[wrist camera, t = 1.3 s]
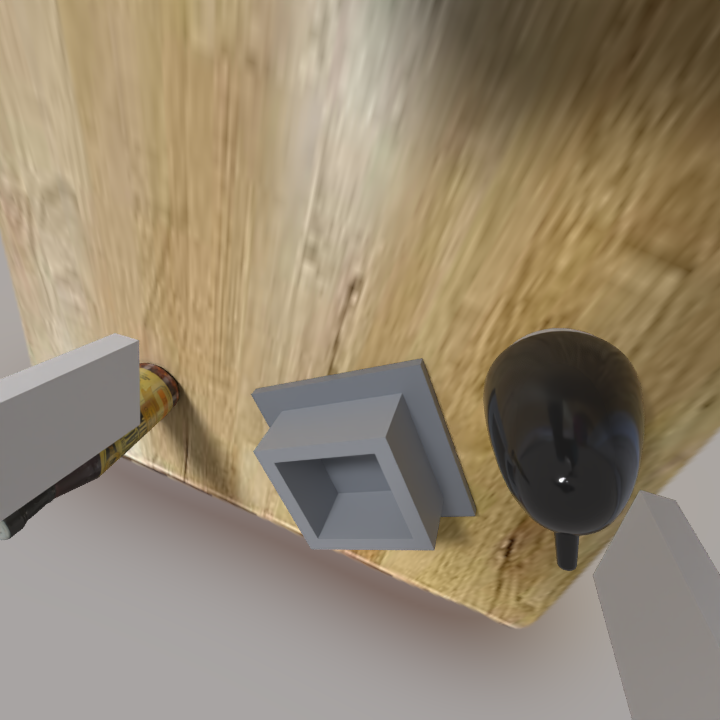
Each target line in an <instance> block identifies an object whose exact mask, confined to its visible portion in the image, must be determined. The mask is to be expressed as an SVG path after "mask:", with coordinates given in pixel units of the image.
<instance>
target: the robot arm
mask: <svg viewBox="0 0 720 720" xmlns="http://www.w3.org/2000/svg"><path fill="white" fill-rule="evenodd" d="M139 425H140V376H139V340H136V339H133V338H130V337H126V336H123V335H120V334H116V333H114V334H112V335H109V336H107V337H104V338H102V339H99V340H97V341H94V342H92V343H89V344H87V345H84V346H82V347H79V348H77V349H74V350H72V351H69V352H67V353H64V354H62V355H59V356H57V357H54V358H52V359H50V360H47V361H45V362H42V363H40V364H37V365H35V366H32V367H30V368H27V369H25V370H23V371H20V372H17V373H15V374H12V375H10V376H7V377H5V378H3V379H0V522H1V521H2V520H4V519H5V518H6V517H8V516H9V515H11V514H12V513H14V512H15V511H16V510H18V509H19V508H21V507H22V506H24V505H25V504H27V503H28V502H29V501H31V500H32V499H34V498H35V497H37V496H38V495H39V494H41V493H42V492H44V491H45V490H47V489H48V488H50V487H51V486H52V485H54V484H55V483H57V482H58V481H60V480H61V479H62V478H64V477H65V476H67V475H68V474H70V473H71V472H73V471H74V470H75V469H77V468H78V467H80V466H81V465H83V464H84V463H85V462H87V461H88V460H90V459H91V458H93V457H94V456H96V455H97V454H98V453H100V452H101V451H103V450H104V449H106V448H107V447H108V446H110V445H111V444H113V443H114V442H116V441H117V440H119V439H120V438H121V437H123V436H124V435H126V434H127V433H129V432H130V431H131V430H133V429H134V428H136V427H137V426H139ZM593 578H594V581H595V585H596V589H597V592H598V596H599V600H600V603H601V607H602V611H603V614H604V618H605V622H606V625H607V629H608V633H609V637H610V640H611V644H612V648H613V651H614V655H615V659H616V662H617V666H618V670H619V674H620V677H621V680H622V684H623V688H624V692H625V696H626V699H627V703H628V707H629V710H630V714H631V718H632V720H720V574H719V572H718V571H717V569H716V567H715V566H714V564H713V562H712V561H711V559H710V557H709V556H708V554H707V552H706V551H705V549H704V547H703V546H702V544H701V542H700V540H699V539H698V537H697V536H696V534H695V532H694V530H693V529H692V527H691V525H690V524H689V522H688V520H687V519H686V517H685V515H684V514H683V512H682V511H681V509H680V507H679V505H678V504H677V502H676V501H675V500H672V499H669V498H666V497H662V496H659V495H656V494H652V493H649V492H646V491H642V490H640V491H639V492H638V494H637V496H636V498H635V500H634V501H633V503H632V505H631V507H630V509H629V511H628V512H627V514H626V516H625V518H624V520H623V521H622V523H621V525H620V527H619V529H618V530H617V532H616V534H615V536H614V538H613V539H612V541H611V543H610V545H609V547H608V548H607V550H606V552H605V554H604V556H603V558H602V559H601V561H600V563H599V565H598V567H597V568H596V570H595V572H594V574H593Z"/></svg>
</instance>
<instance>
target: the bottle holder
mask: <svg viewBox="0 0 720 720" xmlns="http://www.w3.org/2000/svg"><path fill="white" fill-rule="evenodd" d="M251 395H252V397H253V399H254V400H255V402H256V404H257V406H258V408H259V409H260V411H261V413H262V415H263V416H264V418H265V420H266V422H267V424H268V425H269V427H270V429H269V430H268V432H267V433H266V434H265V436H264V437H263V439H262V440H261V441H260V443H259V444H258V446H257V447H256V448H255V450H254V451H253V452H254V454H255V455H256V457H257V459H258V460H259V462H260V464H261V465H262V467H263V469H264V471H265V472H266V474H267V476H268V477H269V479H270V481H271V482H272V484H273V486H274V487H275V489H276V491H277V492H278V494H279V496H280V497H281V499H282V501H283V502H284V504H285V506H286V507H287V509H288V511H289V513H290V514H291V516H292V518H293V519H294V521H295V523H296V524H297V526H298V528H299V529H300V531H301V533H302V534H303V536H304V538H305V539H306V541H307V543H308V544H309V546H310V548H311V549H346V550H434V549H435V544H436V538H437V533H438V528H439V522H440V517H457V516H475V513H476V507H475V504H474V501H473V498H472V496H471V493H470V490H469V487H468V484H467V482H466V479H465V476H464V473H463V470H462V468H461V465H460V462H459V459H458V456H457V454H456V451H455V448H454V445H453V442H452V440H451V437H450V434H449V431H448V428H447V426H446V423H445V420H444V417H443V415H442V412H441V409H440V406H439V403H438V401H437V398H436V395H435V392H434V389H433V387H432V384H431V381H430V378H429V375H428V373H427V370H426V367H425V364H424V361H423V359H416V360H411V361H405V362H400V363H394V364H389V365H384V366H378V367H373V368H367V369H362V370H356V371H351V372H345V373H340V374H334V375H329V376H323V377H318V378H313V379H307V380H302V381H296V382H291V383H285V384H280V385H274V386H269V387H263V388H258V389H255V391H254V392H253V393H252V394H251Z"/></svg>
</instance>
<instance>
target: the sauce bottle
mask: <svg viewBox="0 0 720 720" xmlns="http://www.w3.org/2000/svg"><path fill="white" fill-rule="evenodd" d="M139 376H140V425H139V426H137V427H136V428H134V429H133V430H131V431H130V432H129V433H127V434H126V435H124V436H123V437H121V438H120V439H119V440H117V441H116V442H114V443H113V444H111V445H110V446H108V447H107V448H106V449H104V450H103V451H101V452H100V453H98V454H97V455H96V456H94V457H93V458H91V459H90V460H88V461H87V462H85V463H84V464H83V465H81V466H80V467H78V468H77V469H75V470H74V471H73V472H71V473H70V474H68V475H67V476H65V477H64V478H62V479H61V480H60V481H58V482H57V483H55V484H54V485H52V486H51V487H50V488H48V489H47V490H45V491H44V492H42V493H41V494H39V495H38V496H37V497H35V498H34V499H32V500H31V501H29V502H28V503H27V504H25V505H24V506H22V507H21V508H19V509H18V510H16V511H15V512H14V513H12V514H11V515H9V516H8V517H6V518H5V519H4V520H2V521H1V522H0V540H6V539H10V538H11V537H12V536H13V535H15V534H16V533H17V532H19V531H20V530H21V529H23V527H24V526H25V524H26V522H27V521H28V519H30V518H31V517H32V516H34V515H35V514H36V513H37V512H38V511H39V510H41V509H42V508H43V507H44V506H45V505H46V504H47V503H50V502H51V501H52V500H53V499H54V498H56V497H59V496H60V495H63V494H65V493H67V492H69V491H71V490H73V489H76V488H78V487H80V486H82V485H84V484H86V483H88V482H90V481H92V480H95V479H97V478H98V477H100V476H101V475H102V474H103V473H104V472H105V471H106V470H107V469H108V468H109V467H110V466H112V465H113V464H114V463H115V462H116V461H117V460H118V459H119V458H120V457H121V456H123V455H124V454H125V453H126V452H127V451H128V450H129V449H130V448H131V447H132V446H134V444H136V443H137V442H138V441H139V440H140V439H141V438H142V437H143V436H144V435H145V434H146V433H147V432H149V431H150V430H151V429H152V428H153V427H154V426H155V425H156V424H157V423H158V422H159V421H161V420H162V419H163V418H164V417H165V416H166V415H167V414H168V413H169V412H170V411H171V409H172V407H173V406H175V405H176V403H177V401H178V399H179V392H178V388H177V384H176V381H175V380H174V379H173V378H172V377H171V376H170V375H169V374H168V373H167V372H166V371H165V370H164V369H162V368H160V367H159V366H156V365H154V364H150V363H141V364H139Z"/></svg>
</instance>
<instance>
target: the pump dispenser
mask: <svg viewBox="0 0 720 720" xmlns="http://www.w3.org/2000/svg"><path fill="white" fill-rule="evenodd" d="M483 402H484V412H485V420H486V426H487V431H488V435H489V439H490V443H491V446H492V449H493V452H494V455H495V458H496V461H497V464H498V467H499V469H500V472H501V474H502V477H503V479H504V481H505V483H506V485H507V487H508V488H509V490H510V492H511V494H512V495H513V497H514V498H515V500H516V501H517V502H518V504H519V505H520V506H521V508H522V509H523V510H524V511H525V512H526V513H527V514H528V515H529V516H530V517H531V518H532V519H533V520H534V521H535V522H537V523H538V524H539V525H541V526H543V527H544V528H546V529H549V530H551V531H553V532H554V536H555V547H556V558H557V564H558V566H559V567H560V568H561V569H563V570H566V571H572V570H574V569H575V568H576V567H577V558H578V545H579V536H581V535H588V534H592V533H595V532H598V531H600V530H602V529H604V528H606V527H607V526H608V525H610V524H611V523H612V522H613V521H614V520H615V519H616V518H617V517H618V515H619V514H620V513H621V512H622V510H623V509H624V507H625V506H626V504H627V502H628V500H629V498H630V496H631V494H632V492H633V489H634V486H635V484H636V481H637V477H638V473H639V468H640V463H641V457H642V450H643V442H644V428H645V419H644V402H643V394H642V389H641V385H640V381H639V378H638V376H637V373H636V371H635V369H634V367H633V365H632V364H631V362H630V361H629V359H628V358H627V357H626V356H625V355H624V354H623V353H622V352H621V351H620V350H619V349H617V348H616V347H615V346H613V345H612V344H610V343H608V342H607V341H605V340H603V339H600V338H598V337H596V336H594V335H591V334H589V333H586V332H583V331H579V330H575V329H568V328H552V329H545V330H540V331H537V332H533V333H531V334H528V335H526V336H524V337H522V338H520V339H519V340H517V341H516V342H514V343H513V344H512V345H511V346H509V347H508V348H507V349H506V350H504V351H503V352H502V353H501V354H500V355H499V356H498V357H497V358H496V360H495V361H494V362H493V364H492V365H491V367H490V369H489V371H488V373H487V376H486V379H485V384H484V393H483Z"/></svg>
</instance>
